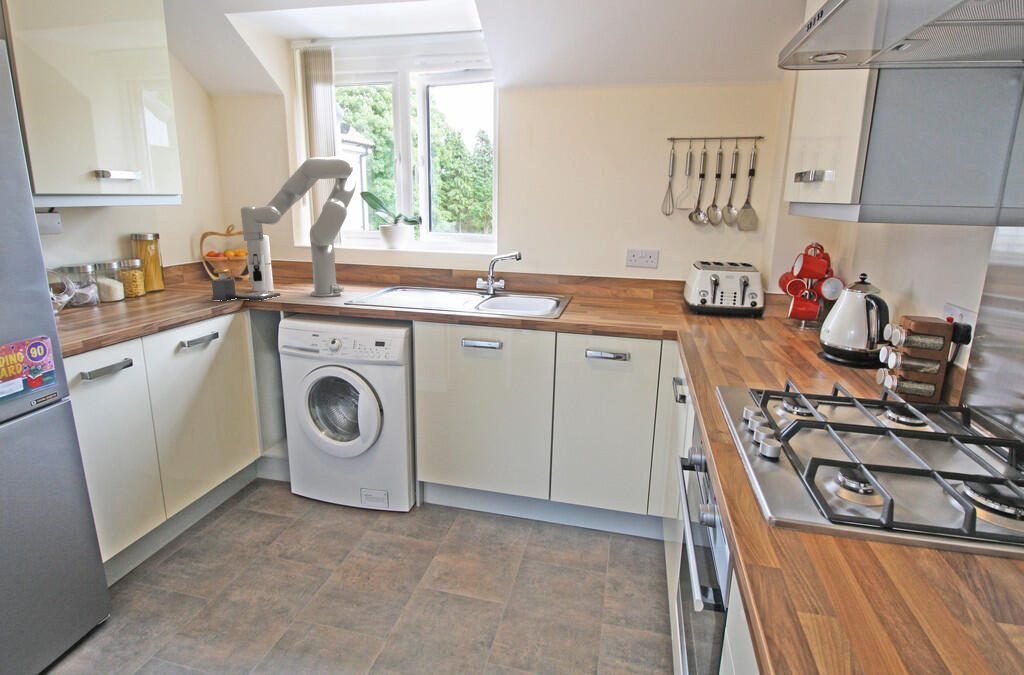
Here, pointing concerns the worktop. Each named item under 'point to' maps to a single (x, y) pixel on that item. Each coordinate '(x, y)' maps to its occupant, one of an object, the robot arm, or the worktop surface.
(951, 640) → the worktop surface
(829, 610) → the worktop surface
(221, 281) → the press base
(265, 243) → the cylindrical container
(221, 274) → the plunger
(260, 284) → the drinking glass
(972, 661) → the worktop surface
